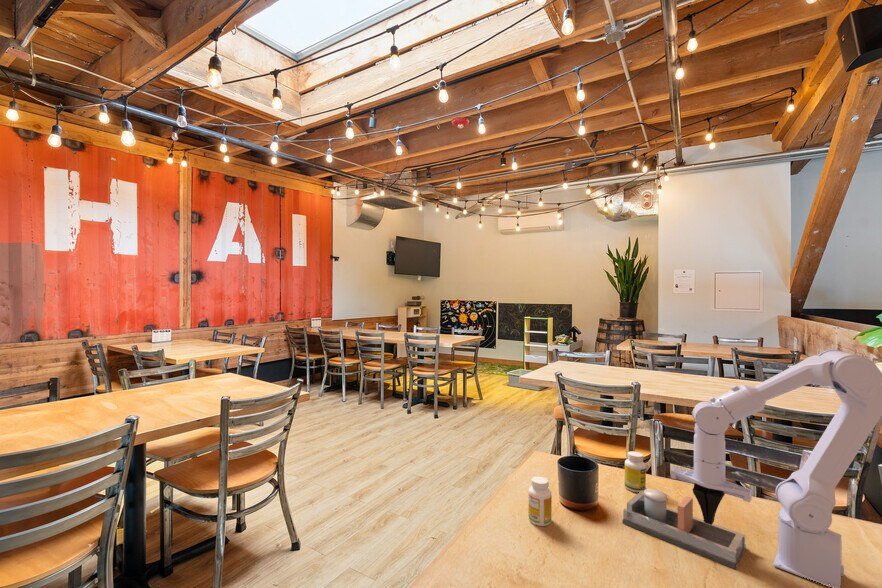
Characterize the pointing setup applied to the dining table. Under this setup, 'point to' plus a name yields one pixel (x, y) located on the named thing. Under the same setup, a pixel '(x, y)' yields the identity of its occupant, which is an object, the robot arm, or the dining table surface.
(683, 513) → the plate
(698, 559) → the dining table surface
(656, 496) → the jar
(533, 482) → the supplement bottle
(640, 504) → the pusher lane
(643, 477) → the supplement bottle
